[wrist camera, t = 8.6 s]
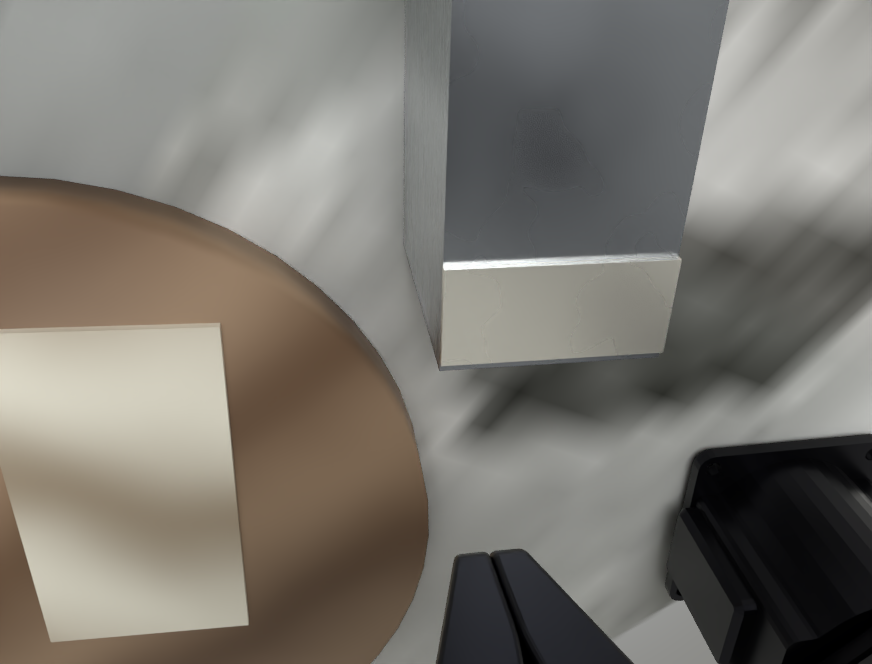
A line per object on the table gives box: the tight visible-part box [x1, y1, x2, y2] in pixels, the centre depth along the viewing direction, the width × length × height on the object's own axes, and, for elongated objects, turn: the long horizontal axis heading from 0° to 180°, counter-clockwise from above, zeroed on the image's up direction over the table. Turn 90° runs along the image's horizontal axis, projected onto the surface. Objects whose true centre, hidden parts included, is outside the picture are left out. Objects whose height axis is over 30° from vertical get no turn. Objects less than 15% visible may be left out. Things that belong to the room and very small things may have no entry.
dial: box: [0, 176, 429, 664], centre depth 20 cm, size 20×20×6 cm
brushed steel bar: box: [404, 0, 729, 371], centre depth 16 cm, size 9×4×6 cm, turn 179°
